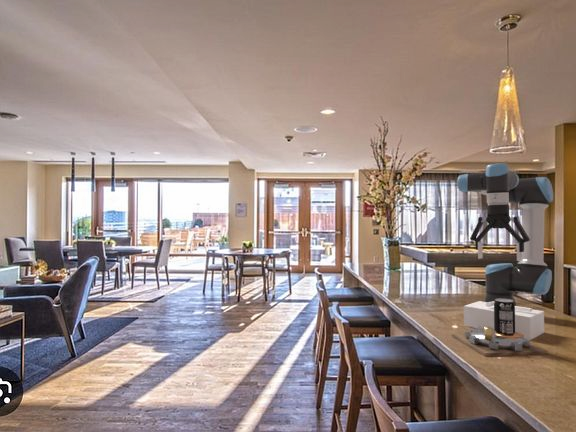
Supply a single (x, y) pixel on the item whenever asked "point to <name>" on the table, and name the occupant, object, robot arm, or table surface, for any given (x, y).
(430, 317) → the table surface
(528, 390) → the table surface
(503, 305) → the beverage can
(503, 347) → the sprocket
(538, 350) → the board
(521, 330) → the tissue box
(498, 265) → the robot arm
